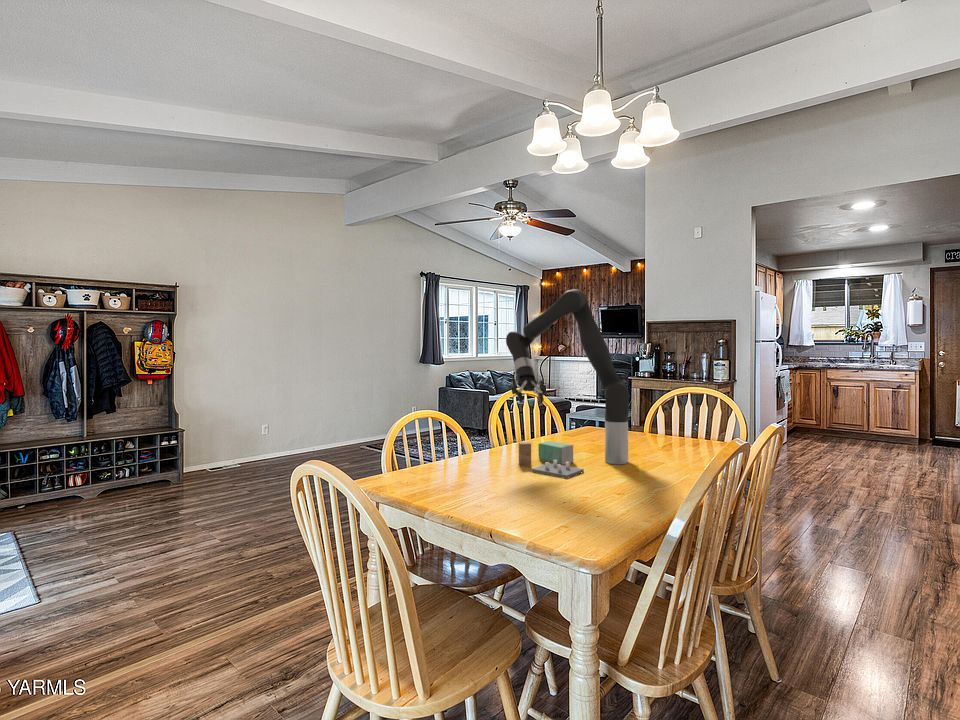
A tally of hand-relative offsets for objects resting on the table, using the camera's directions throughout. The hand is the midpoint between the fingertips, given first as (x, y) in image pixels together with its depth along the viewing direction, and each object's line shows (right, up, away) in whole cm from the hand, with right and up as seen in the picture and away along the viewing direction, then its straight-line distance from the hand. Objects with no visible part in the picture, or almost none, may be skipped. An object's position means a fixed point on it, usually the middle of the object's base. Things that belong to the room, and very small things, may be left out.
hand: (531, 402), depth 219 cm
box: (+11, -26, +8) cm, 29 cm away
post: (-3, -26, +2) cm, 26 cm away
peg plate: (+9, -26, -11) cm, 30 cm away
